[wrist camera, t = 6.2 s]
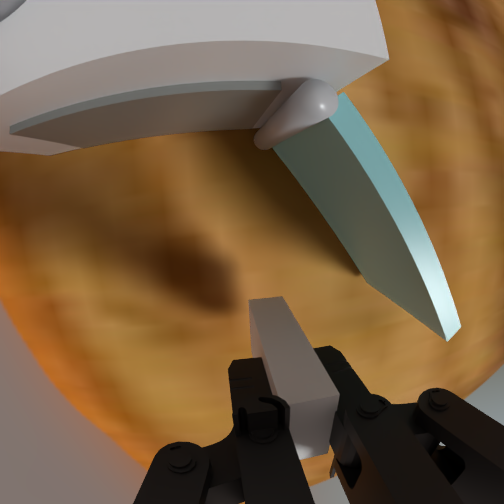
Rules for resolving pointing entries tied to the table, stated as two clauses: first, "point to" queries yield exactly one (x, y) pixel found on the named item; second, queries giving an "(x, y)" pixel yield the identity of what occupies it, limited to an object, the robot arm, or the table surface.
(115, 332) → the table surface
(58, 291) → the table surface
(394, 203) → the side door
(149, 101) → the cabinet body
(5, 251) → the table surface
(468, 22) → the table surface
